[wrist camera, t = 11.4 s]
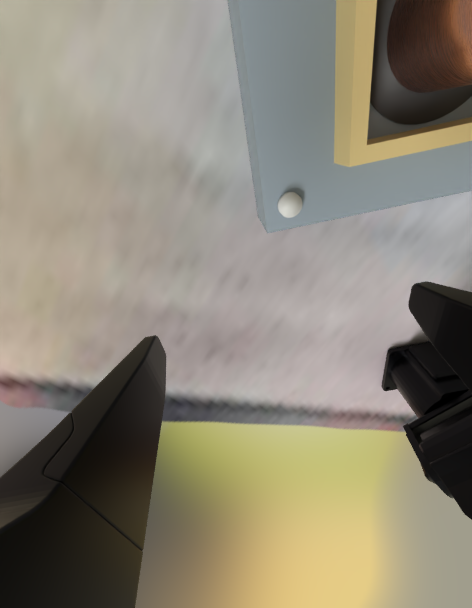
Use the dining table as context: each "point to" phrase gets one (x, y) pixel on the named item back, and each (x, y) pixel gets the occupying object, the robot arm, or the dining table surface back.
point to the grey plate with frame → (340, 114)
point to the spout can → (431, 44)
